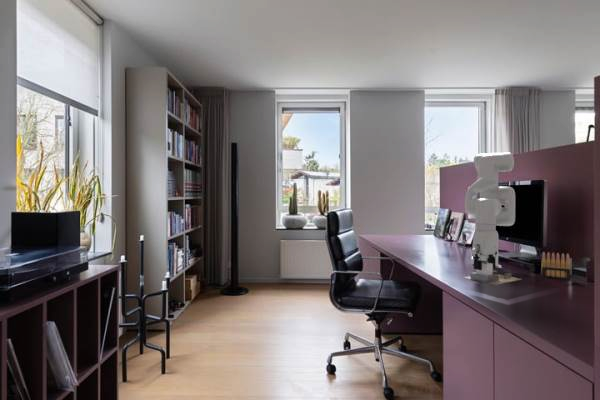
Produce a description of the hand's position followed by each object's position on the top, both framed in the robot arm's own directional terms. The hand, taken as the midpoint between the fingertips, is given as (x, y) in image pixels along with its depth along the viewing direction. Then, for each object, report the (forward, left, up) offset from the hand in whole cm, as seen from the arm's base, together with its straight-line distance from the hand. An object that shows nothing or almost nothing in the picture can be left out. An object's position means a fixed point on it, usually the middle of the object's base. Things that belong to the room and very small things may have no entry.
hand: (484, 268), depth 140 cm
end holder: (0, 0, -5) cm, 5 cm away
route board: (0, +6, -6) cm, 9 cm away
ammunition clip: (+10, +38, -7) cm, 40 cm away
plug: (0, 0, -5) cm, 5 cm away
